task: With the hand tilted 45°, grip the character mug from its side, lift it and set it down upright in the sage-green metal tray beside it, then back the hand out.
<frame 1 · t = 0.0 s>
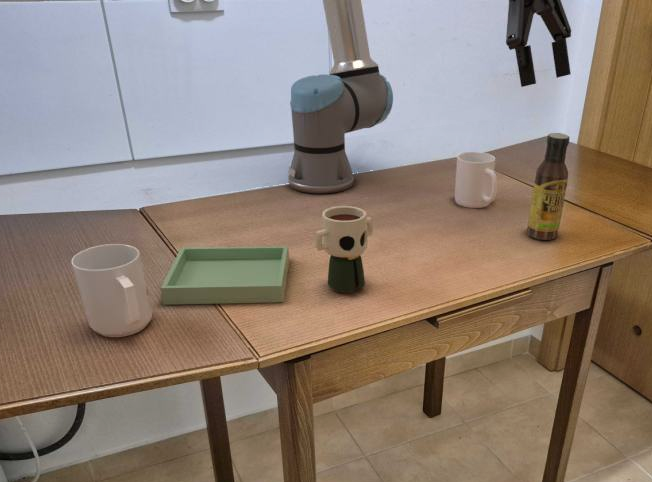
hand: (546, 80, 122), 28 cm above the table, tool tilted 20°, fingers open, 13 cm apart
tray: (230, 281, 109), on the table
character mug: (346, 287, 108), on the table
cup: (477, 205, 144), on the table
sauce bottle: (542, 236, 129), on the table
mug: (127, 330, 95), on the table
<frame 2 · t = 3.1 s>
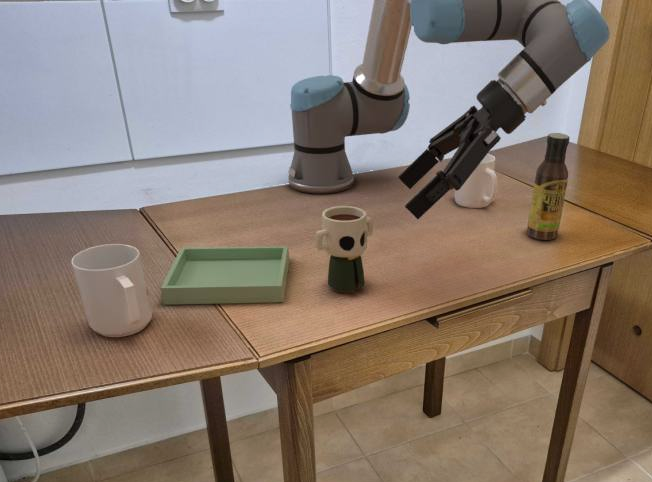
hand: (407, 197, 101), 16 cm above the table, tool tilted 45°, fingers open, 13 cm apart
nothing on the table moved.
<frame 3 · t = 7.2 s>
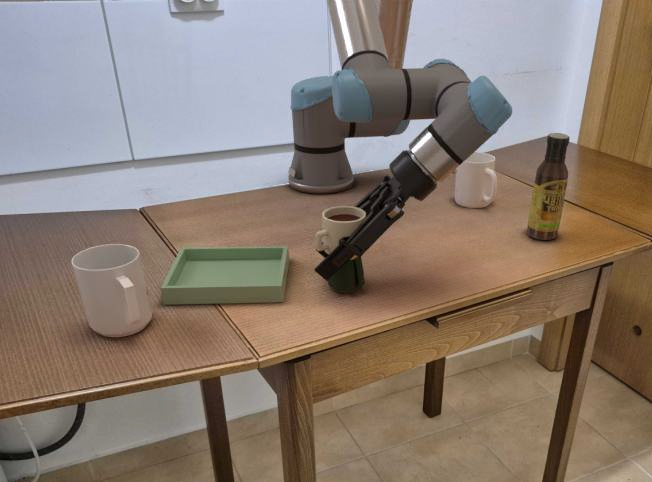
hand: (321, 264, 105), 4 cm above the table, tool tilted 45°, fingers closed on character mug, 7 cm apart
character mug: (346, 287, 108), on the table, touching gripper
everything else where it was.
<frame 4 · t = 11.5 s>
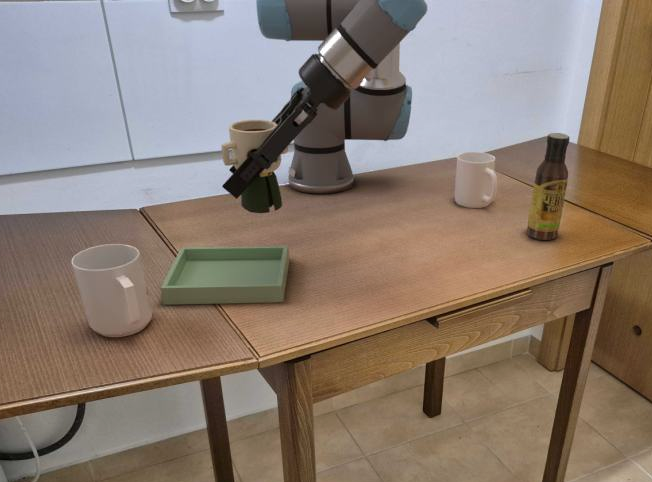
hand: (233, 183, 99), 17 cm above the table, tool tilted 45°, fingers closed on character mug, 7 cm apart
character mug: (262, 210, 102), point 13 cm above the table, touching gripper
everything else where it was.
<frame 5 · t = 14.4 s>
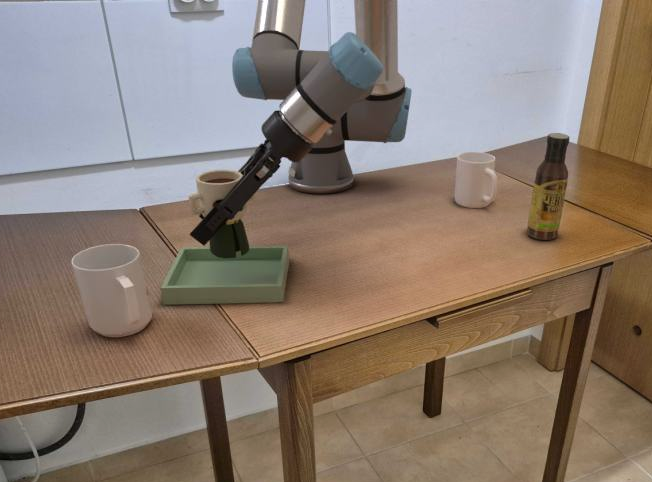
hand: (201, 229, 103), 9 cm above the table, tool tilted 45°, fingers closed on character mug, 7 cm apart
character mug: (230, 254, 106), point 5 cm above the table, touching gripper
everything else where it was.
when the fingers open (5 cm above the table, at t = 16.1 s): character mug stays where it is, resting on tray.
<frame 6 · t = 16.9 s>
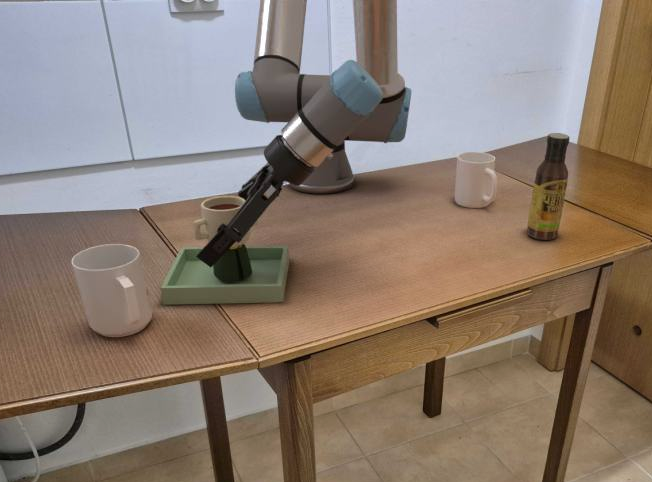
hand: (211, 243, 105), 7 cm above the table, tool tilted 45°, fingers open, 13 cm apart
character mug: (233, 277, 109), point 1 cm above the table, touching tray
everything else where it was.
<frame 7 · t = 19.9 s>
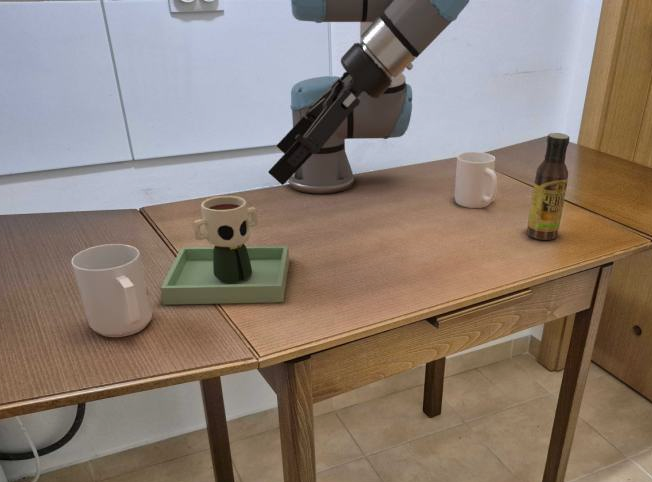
hand: (279, 164, 99), 20 cm above the table, tool tilted 45°, fingers open, 13 cm apart
nothing on the table moved.
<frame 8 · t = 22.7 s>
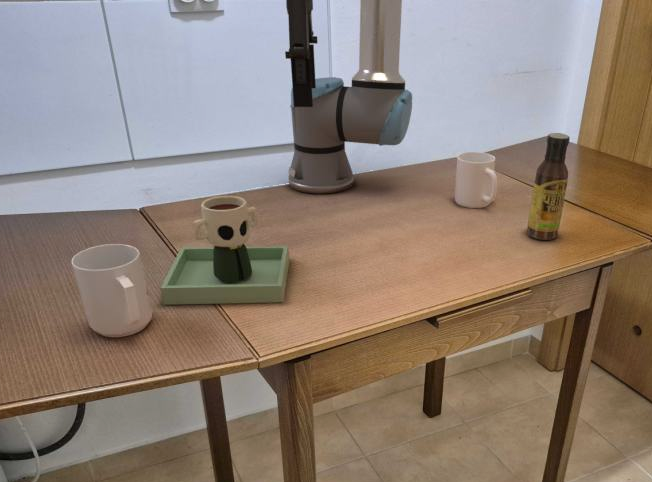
hand: (305, 96, 100), 29 cm above the table, tool pointing down, fingers open, 13 cm apart
nothing on the table moved.
at the end: character mug inside the target area in the tray (0.5 cm from its centre), point 0.6 cm above the tray's base; character mug tilted 0°; the gripper is holding nothing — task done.
